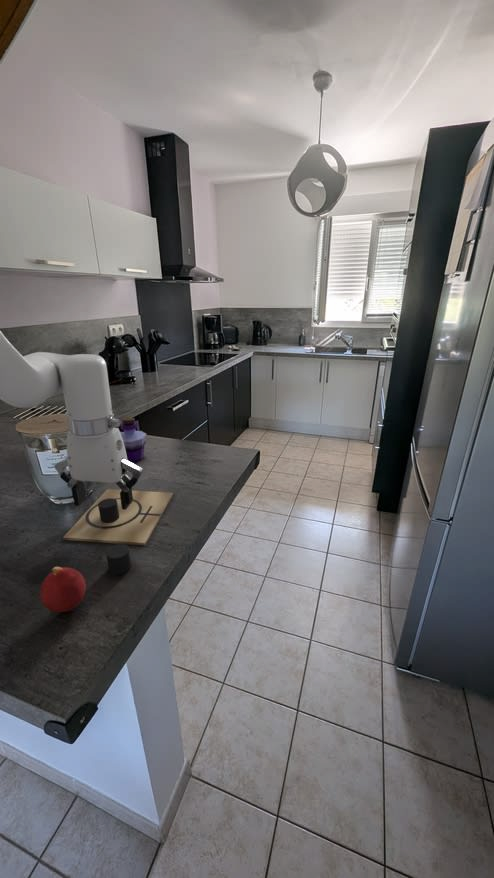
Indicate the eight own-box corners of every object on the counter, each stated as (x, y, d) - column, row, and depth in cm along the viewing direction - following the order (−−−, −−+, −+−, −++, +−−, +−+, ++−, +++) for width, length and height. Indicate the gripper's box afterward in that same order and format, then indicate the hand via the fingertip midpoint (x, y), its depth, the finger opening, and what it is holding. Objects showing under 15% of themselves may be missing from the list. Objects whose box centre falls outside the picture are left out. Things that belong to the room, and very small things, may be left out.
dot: (97, 522, 71) (94, 507, 70) (105, 512, 75) (103, 497, 73) (114, 523, 71) (112, 508, 70) (122, 513, 74) (120, 498, 73)
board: (63, 539, 67) (62, 537, 67) (107, 491, 84) (107, 488, 84) (144, 545, 66) (144, 542, 66) (173, 494, 82) (173, 492, 82)
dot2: (105, 574, 59) (102, 557, 58) (115, 559, 62) (112, 543, 61) (126, 576, 59) (123, 559, 57) (134, 561, 62) (132, 544, 61)
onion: (73, 588, 56) (63, 547, 53) (97, 603, 54) (88, 561, 51) (38, 615, 52) (24, 572, 49) (62, 632, 49) (50, 588, 46)
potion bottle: (110, 461, 99) (104, 420, 94) (132, 450, 106) (127, 411, 101) (134, 467, 95) (128, 425, 91) (155, 455, 102) (151, 416, 98)
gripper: (145, 420, 68) (152, 497, 74) (59, 415, 69) (73, 491, 76) (129, 434, 61) (138, 518, 67) (33, 428, 62) (51, 511, 69)
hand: (103, 504), depth 71 cm, fingers open, 9 cm apart
